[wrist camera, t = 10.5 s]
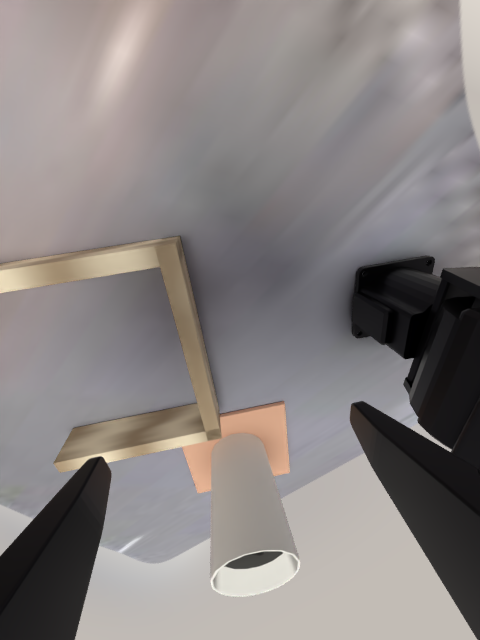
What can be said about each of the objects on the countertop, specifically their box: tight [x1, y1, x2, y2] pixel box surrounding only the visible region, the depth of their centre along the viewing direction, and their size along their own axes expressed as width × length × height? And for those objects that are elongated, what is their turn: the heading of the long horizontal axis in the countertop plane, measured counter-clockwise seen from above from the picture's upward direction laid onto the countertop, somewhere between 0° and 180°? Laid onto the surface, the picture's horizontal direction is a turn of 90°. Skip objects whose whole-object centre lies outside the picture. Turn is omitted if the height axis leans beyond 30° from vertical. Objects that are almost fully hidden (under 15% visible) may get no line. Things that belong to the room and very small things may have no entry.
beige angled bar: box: [0, 236, 222, 473], centre depth 19 cm, size 14×16×4 cm
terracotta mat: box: [182, 401, 290, 493], centre depth 27 cm, size 11×11×1 cm
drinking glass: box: [210, 433, 300, 597], centre depth 23 cm, size 7×7×10 cm
